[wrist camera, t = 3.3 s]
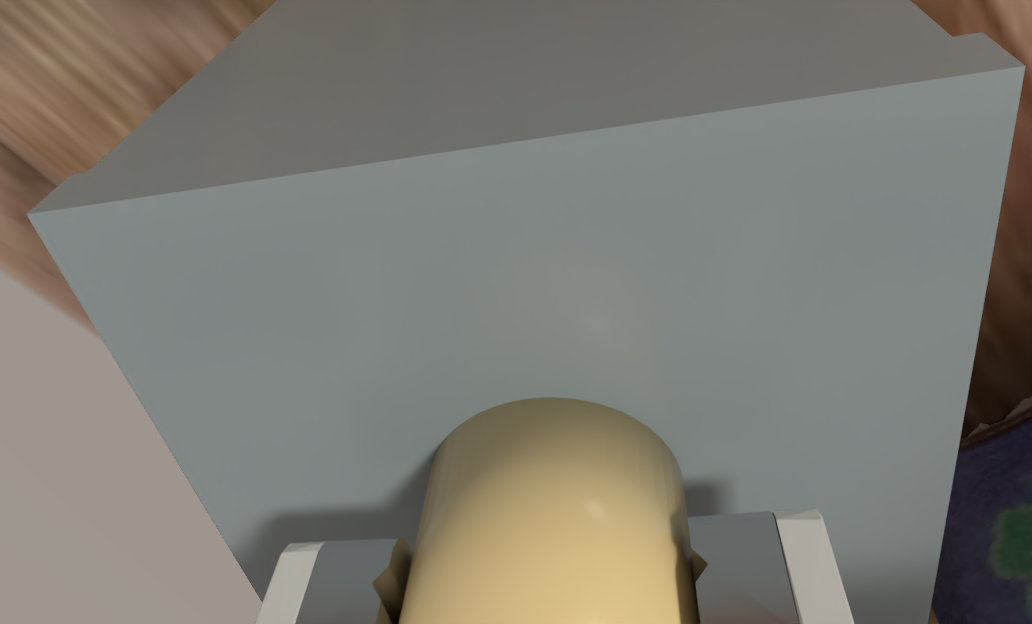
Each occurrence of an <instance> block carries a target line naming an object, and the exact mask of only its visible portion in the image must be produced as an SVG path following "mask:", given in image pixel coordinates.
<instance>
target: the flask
mask: <svg viewBox="0 0 1032 624" xmlns="http://www.w3.org/2000/svg"><path fill="white" fill-rule="evenodd" d="M1015 406H1016V408H1017V409H1014V410H1012V411H1011V413H1010V414H1009V415H1008V416H1006V419H1004V420H1001V422H998V423H995V424H992V425H989V424H983V423H980V424H979V426H978V427H977V428H975V429H974V431H973V432H972V433H970V434H969V436H968V437H966V438H963V439H961V440H960V443H959V449H958V454H957V460H956V466H955V472H954V477H953V483H952V489H951V494H950V500H949V506H948V512H947V517H946V523H945V529H944V535H943V540H942V546H941V552H940V557H939V563H938V569H937V575H936V580H935V586H934V592H933V597H932V603H931V605H932V608H933V610H934V612H935V615H936V617H937V620H938V622H939V624H1032V396H1031V397H1029V398H1026V399H1023V400H1022V401H1021V402H1020V403H1019V405H1015Z"/></svg>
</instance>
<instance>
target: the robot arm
mask: <svg viewBox="0 0 1032 624" xmlns="http://www.w3.org/2000/svg"><path fill="white" fill-rule="evenodd" d="M687 524H688V535H689V544H690V553H691V562H692V570H693V579H694V585H695V586H696V596H697V607H698V619H699V624H854V620H853V617H852V614H851V610H850V607H849V604H848V600H847V597H846V594H845V590H844V587H843V584H842V580H841V577H840V574H839V570H838V567H837V564H836V560H835V557H834V554H833V550H832V547H831V544H830V540H829V537H828V534H827V530H826V527H825V524H824V520H823V517H822V515H821V514H820V513H819V511H818V510H817V509H803V510H788V511H774V512H772V513H771V511H761V512H749V513H737V514H724V515H712V516H699V517H687ZM412 556H413V554H412V551H411V549H410V547H409V545H408V543H407V541H406V539H405V538H397V539H372V540H346V541H324V542H306V543H290V544H289V545H288V546H287V547H286V548H285V550H284V551H283V552H282V553H281V555H280V557H279V559H278V562H277V565H276V567H275V570H274V573H273V575H272V578H271V581H270V583H269V586H268V589H267V592H266V594H265V597H264V600H263V602H262V605H261V608H260V611H259V613H258V616H257V619H256V621H255V624H399V619H400V614H401V609H402V605H403V600H404V595H405V590H406V585H407V581H408V576H409V571H410V566H411V561H412Z"/></svg>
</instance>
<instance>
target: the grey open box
mask: <svg viewBox="0 0 1032 624" xmlns="http://www.w3.org/2000/svg"><path fill="white" fill-rule="evenodd" d="M949 37H952V36H951V35H949V34H948V33H947V32H946V31H945V30H944V29H942V28H941V27H940V26H939V25H938V24H937V23H936V22H934V21H933V20H932V19H931V18H930V17H929V16H927V15H926V14H925V13H924V12H923V11H922V10H920V9H919V8H918V7H917V6H916V5H915V4H914V3H912V2H911V1H910V0H277V1H276V2H275V3H274V4H273V5H272V6H271V7H269V8H268V9H267V10H266V11H265V12H264V13H263V14H262V15H261V16H260V17H258V18H257V19H256V20H255V21H254V22H253V23H252V24H251V25H250V26H248V27H247V28H246V29H245V30H244V31H243V32H242V33H241V34H240V35H239V36H237V37H236V38H235V39H234V40H233V41H232V42H231V43H230V44H229V45H227V46H226V47H225V48H224V49H223V50H222V51H221V52H220V53H219V54H217V55H216V56H215V57H214V58H213V59H212V60H211V61H210V62H209V63H208V64H206V65H205V66H204V67H203V68H202V69H201V70H200V71H199V72H198V73H196V74H195V75H194V76H193V77H192V78H191V79H190V80H189V81H188V82H187V83H185V84H184V85H183V86H182V87H181V88H180V89H179V90H178V91H177V92H175V93H174V94H173V95H172V96H171V97H170V98H169V99H168V100H167V101H165V102H164V103H163V104H162V105H161V106H160V107H159V108H158V109H157V110H156V111H154V112H153V113H152V114H151V115H150V116H149V117H148V118H147V119H146V120H144V121H143V122H142V123H141V124H140V125H139V126H138V127H137V128H136V129H135V130H133V131H132V132H131V133H130V134H129V135H128V136H127V137H126V138H125V139H123V140H122V141H121V142H120V143H119V144H118V145H117V146H116V147H115V148H113V149H112V150H111V151H110V152H109V153H108V154H107V155H106V156H105V157H104V158H102V159H101V160H100V161H99V162H98V163H97V164H96V165H95V166H94V167H92V168H91V169H90V170H89V171H88V172H91V171H97V170H104V169H110V168H116V167H123V166H129V165H136V164H142V163H148V162H155V161H161V160H168V159H174V158H180V157H187V156H193V155H200V154H206V153H212V152H219V151H225V150H232V149H238V148H244V147H251V146H257V145H264V144H270V143H276V142H283V141H289V140H296V139H302V138H308V137H315V136H321V135H328V134H334V133H340V132H347V131H353V130H360V129H366V128H372V127H379V126H385V125H392V124H398V123H404V122H411V121H417V120H424V119H430V118H436V117H443V116H449V115H456V114H462V113H468V112H475V111H481V110H488V109H494V108H500V107H507V106H513V105H520V104H526V103H532V102H539V101H545V100H552V99H558V98H564V97H571V96H577V95H584V94H590V93H596V92H603V91H609V90H616V89H622V88H628V87H635V86H641V85H648V84H654V83H660V82H667V81H673V80H680V79H686V78H692V77H699V76H705V75H712V74H718V73H725V72H731V71H737V70H744V69H750V68H757V67H763V66H769V65H776V64H782V63H789V62H795V61H801V60H808V59H814V58H821V57H827V56H833V55H840V54H846V53H853V52H859V51H865V50H872V49H878V48H885V47H891V46H897V45H904V44H910V43H917V42H923V41H929V40H936V39H942V38H949Z"/></svg>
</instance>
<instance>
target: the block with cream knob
mask: <svg viewBox="0 0 1032 624" xmlns="http://www.w3.org/2000/svg"><path fill="white" fill-rule="evenodd" d="M1024 72H1025V65H1024V64H1022V63H1021V62H1020V61H1019V60H1017V59H1016V58H1015V57H1013V56H1012V55H1011V54H1010V53H1008V52H1007V51H1006V50H1004V49H1003V48H1002V47H1001V46H999V45H998V44H997V43H996V42H994V41H993V40H992V39H990V38H989V37H988V36H987V35H985V34H984V33H983V32H981V33H974V34H968V35H961V36H955V37H949V38H942V39H936V40H929V41H923V42H917V43H910V44H904V45H897V46H891V47H885V48H878V49H872V50H865V51H859V52H853V53H846V54H840V55H833V56H827V57H821V58H814V59H808V60H801V61H795V62H789V63H782V64H776V65H769V66H763V67H757V68H750V69H744V70H737V71H731V72H725V73H718V74H712V75H705V76H699V77H692V78H686V79H680V80H673V81H667V82H660V83H654V84H648V85H641V86H635V87H628V88H622V89H616V90H609V91H603V92H596V93H590V94H584V95H577V96H571V97H564V98H558V99H552V100H545V101H539V102H532V103H526V104H520V105H513V106H507V107H500V108H494V109H488V110H481V111H475V112H468V113H462V114H456V115H449V116H443V117H436V118H430V119H424V120H417V121H411V122H404V123H398V124H392V125H385V126H379V127H372V128H366V129H360V130H353V131H347V132H340V133H334V134H328V135H321V136H315V137H308V138H302V139H296V140H289V141H283V142H276V143H270V144H264V145H257V146H251V147H244V148H238V149H232V150H225V151H219V152H212V153H206V154H200V155H193V156H187V157H180V158H174V159H168V160H161V161H155V162H148V163H142V164H136V165H129V166H123V167H116V168H110V169H104V170H97V171H91V172H84V173H78V174H72V175H70V176H69V177H68V178H67V179H66V180H65V181H64V182H63V183H61V184H60V185H59V186H58V187H57V188H56V189H55V190H53V191H52V192H51V193H50V194H49V195H48V196H47V197H46V198H44V199H43V200H42V201H41V202H40V203H39V204H38V205H36V206H35V207H34V208H33V209H32V210H31V211H30V212H29V213H27V214H26V215H27V216H28V218H29V220H30V221H31V223H32V225H33V226H34V228H35V230H36V231H37V233H38V234H39V236H40V238H41V239H42V241H43V243H44V244H45V246H46V248H47V249H48V251H49V253H50V254H51V256H52V257H53V259H54V261H55V262H56V264H57V266H58V267H59V269H60V271H61V272H62V274H63V276H64V277H65V279H66V280H67V282H68V284H69V285H70V287H71V289H72V290H73V292H74V294H75V295H76V297H77V299H78V300H79V302H80V304H81V305H82V307H83V308H84V310H85V312H86V313H87V315H88V317H89V318H90V320H91V322H92V323H93V325H94V327H95V328H96V330H97V331H98V333H99V335H100V336H101V338H102V340H103V341H104V343H105V345H106V346H107V348H108V350H109V351H110V353H111V354H112V356H113V358H114V359H115V361H116V363H117V364H118V366H119V368H120V369H121V371H122V373H123V374H124V376H125V377H126V379H127V381H128V382H129V384H130V386H131V387H132V389H133V391H134V392H135V394H136V396H137V397H138V399H139V400H140V402H141V404H142V405H143V407H144V409H145V410H146V412H147V414H148V415H149V417H150V419H151V420H152V422H153V423H154V425H155V426H156V428H157V430H158V432H159V433H160V435H161V437H162V438H163V440H164V442H165V443H166V445H167V446H168V448H169V450H170V451H171V453H172V455H173V456H174V458H175V459H176V461H177V463H178V465H179V466H180V468H181V469H182V471H183V473H184V474H185V476H186V477H187V479H188V481H189V483H190V484H191V486H192V487H193V489H194V491H195V493H196V494H197V496H198V497H199V499H200V501H201V502H202V504H203V506H204V507H205V509H206V511H207V512H208V514H209V515H210V517H211V519H212V520H213V522H214V524H215V525H216V527H217V529H218V530H219V532H220V534H221V535H222V537H223V539H224V540H225V542H226V543H227V545H228V547H229V548H230V550H231V552H232V553H233V555H234V557H235V558H236V560H237V561H238V563H239V565H240V566H241V568H242V570H243V571H244V573H245V575H246V576H247V578H248V580H249V581H250V583H251V585H252V586H253V588H254V589H255V591H256V593H257V594H258V596H259V598H260V599H261V601H262V602H263V600H264V597H265V594H266V592H267V589H268V586H269V583H270V581H271V578H272V575H273V573H274V570H275V567H276V565H277V562H278V559H279V557H280V555H281V553H282V552H283V551H284V550H285V548H286V547H287V546H288V545H289V544H290V543H306V542H324V541H346V540H372V539H397V538H405V539H406V541H407V543H408V545H409V547H410V549H411V551H412V554H413V556H412V561H411V566H410V571H409V576H408V581H407V585H406V590H405V595H404V600H403V605H402V609H401V614H400V619H399V624H699V619H698V607H697V596H696V586H695V585H694V579H693V570H692V562H691V553H690V544H689V535H688V524H687V517H699V516H712V515H724V514H737V513H749V512H761V511H771V513H772V512H774V511H788V510H803V509H817V510H818V511H819V513H820V514H821V515H822V517H823V520H824V524H825V527H826V530H827V534H828V537H829V540H830V544H831V547H832V550H833V554H834V557H835V560H836V564H837V567H838V570H839V574H840V577H841V580H842V584H843V587H844V590H845V594H846V597H847V600H848V604H849V607H850V610H851V614H852V617H853V620H854V624H928V620H929V615H930V609H931V603H932V597H933V592H934V586H935V580H936V575H937V569H938V563H939V557H940V552H941V546H942V540H943V535H944V529H945V523H946V517H947V512H948V506H949V500H950V494H951V489H952V483H953V477H954V472H955V466H956V460H957V454H958V449H959V443H960V437H961V432H962V426H963V420H964V414H965V409H966V403H967V397H968V392H969V386H970V380H971V374H972V369H973V363H974V357H975V352H976V346H977V340H978V334H979V329H980V323H981V317H982V312H983V306H984V300H985V294H986V289H987V283H988V277H989V272H990V266H991V260H992V254H993V249H994V243H995V237H996V232H997V226H998V220H999V214H1000V209H1001V203H1002V197H1003V192H1004V186H1005V180H1006V174H1007V169H1008V163H1009V157H1010V152H1011V146H1012V140H1013V134H1014V129H1015V123H1016V117H1017V112H1018V106H1019V100H1020V94H1021V89H1022V83H1023V77H1024Z"/></svg>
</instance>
